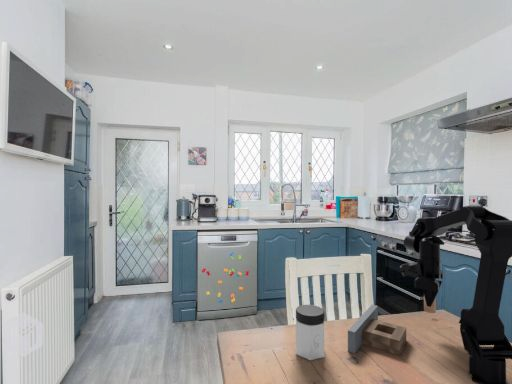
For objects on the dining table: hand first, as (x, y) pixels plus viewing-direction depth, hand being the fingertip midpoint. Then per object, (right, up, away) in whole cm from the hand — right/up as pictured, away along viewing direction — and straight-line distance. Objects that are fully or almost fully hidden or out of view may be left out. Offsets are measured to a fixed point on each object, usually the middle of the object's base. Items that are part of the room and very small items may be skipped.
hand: (429, 304), depth 90 cm
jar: (-41, -10, -10) cm, 43 cm away
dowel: (0, -2, 0) cm, 2 cm away
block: (-17, -10, -5) cm, 20 cm away
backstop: (-22, -10, -1) cm, 24 cm away
